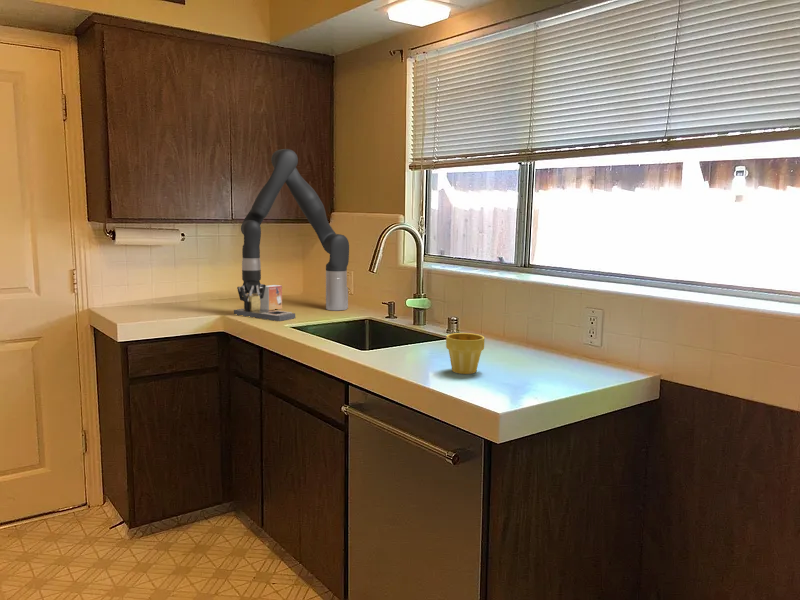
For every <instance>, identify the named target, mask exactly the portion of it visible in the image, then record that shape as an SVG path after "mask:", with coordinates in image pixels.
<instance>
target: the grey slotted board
mask: <svg viewBox="0 0 800 600" xmlns="http://www.w3.org/2000/svg"><path fill="white" fill-rule="evenodd" d="M234 314H237V315H236V316H239V315H243V316H242V317H246V316H250V317H249V318H253V317H256V318H255V319H260V318H262V320H267V319H269V321H274V320H275V322H282V321H288V320H294V318H295V319H296V313H294V312H292V311H285V310H279V309H278V310H265V309H260V310H259V311H253V312H251V311H244V308H237V309H233V315H234Z"/></svg>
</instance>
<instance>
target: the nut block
mask: <svg viewBox="0 0 800 600" xmlns="http://www.w3.org/2000/svg"><path fill="white" fill-rule="evenodd" d="M246 298H247V296H246ZM249 302H250V311H251V312H253V311H259V310H260V296H256V295H252V296H251V297H250V301H249ZM243 309H244V308H243ZM244 311H246V310H245V309H244Z"/></svg>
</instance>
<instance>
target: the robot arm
mask: <svg viewBox="0 0 800 600" xmlns="http://www.w3.org/2000/svg"><path fill="white" fill-rule="evenodd" d="M298 157H299V156H298V155H297V153H296V152H295V151H294V150H292V149H290V148H283V149H277V150H275V151H274V152H273V153H272V155H271V164H272V166H273V171H272V173H271V174H270V177H269V178H268V180H267V181H266V183H265V184H264V186H263V187H262V188H261V189H260V191H259V192H258V194H257V195H256V198H255V200H254V202H253V205H252V206H251V209H250V210H249V211H248V212H247V215H246V216H245V218H244V219H243V221H242V223H241V226H240V232H241V234H242V235H243V245H242V255H241V256H242V260H241V277H242V278H241V279H242V281H243V283H242V285H241V286H237V288H236V289H237V293H238V296H239V300H240V301H242V302H243V309H245V310H246V311H250V302H249V301H250V297H251V296H252V295H256V296H260V299H261V298H263V297H264V292H265V287H266V286H267V285H266V284H264V283H263V284H262V283H261V282H260V281H261V279H262V272H261V271H262V270H261V269H262V268H261V267H262V266H261V265H262V263H261V250H260V249H261V247H260V245H261V235H262V228H261V225H262V222H263V221H264V219H266V217H267V216H268V215H269V212H270V211H271V209H272V207H273V206H274V203H275V201H276V199H277V197H278V196H279V193H280V192H281V189H282V188H283V186H284V185H285V184H286V185H287V188H288V190H289V191H290V193H291V195H292V196H293V198H294V199H295V201H296V203H297V205H298V206H299V209H300V210H301V212H302V213H303V215H304V216H305V218H306V220H307V221H308V223H309V224H310V225H311V227H312V228H313V230H314V232H315V233H316V235H317V237H318V239H319V241H320V244H321V246H322V248H323V249H324V251H325V252H326V254H327V253H328V255H329V260H328V262H327V263H326V264H325V310H329V311H345V310H347V309H349V287H348V284H347V283H348V281H347V280H348V275H347V274H348V273H347V272H348V266H349V260H350V259H349V258H350V244H349V239H348V237H347V236H345V235H344V234H341V233H340V234H339V233H336V232H335V230H334V229H333V227H332V226H331V224H330V223H329V220H328V217H327V213H326V209H325V205H324V203H323V202H322V200H321V199H320V196H319V194H318V193H317V192H316V191H315V189H314V188H313V187H312V186H311V185H310V184H309V183H308V182H307V181H306V180H305V178H303V176H302V175H301V174H300V172H299V170H298V168H297V166H298V164H299V158H298ZM246 296H247V298H246Z"/></svg>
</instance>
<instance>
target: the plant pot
mask: <svg viewBox="0 0 800 600" xmlns="http://www.w3.org/2000/svg"><path fill="white" fill-rule="evenodd" d="M445 348H446V349H447V350H448V353H449V360H450V366H451V371H452V372H453V373H455V374H458V375H459V374H460V375H471V374H475V373H476V372H478V371H477V369H478V368H479V367H478V366H479V362H480V358H481V355H482V351H484V349H485V336H483V335H481V334H477V333H472V332H471V333H470V332H457V333H456V332H455V333H449V334H447V335H446V338H445Z"/></svg>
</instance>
